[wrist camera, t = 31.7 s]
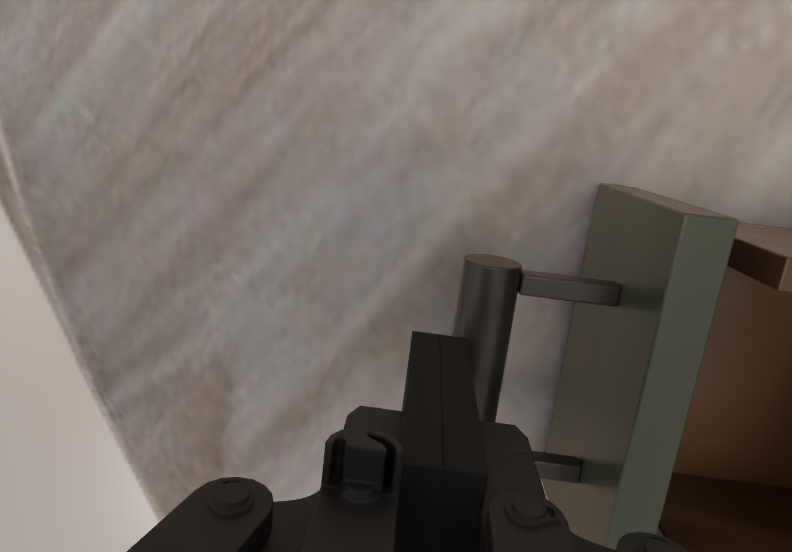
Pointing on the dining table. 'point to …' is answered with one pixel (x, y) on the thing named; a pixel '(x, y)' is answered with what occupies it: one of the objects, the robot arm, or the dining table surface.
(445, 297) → the dining table surface
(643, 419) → the drawer
